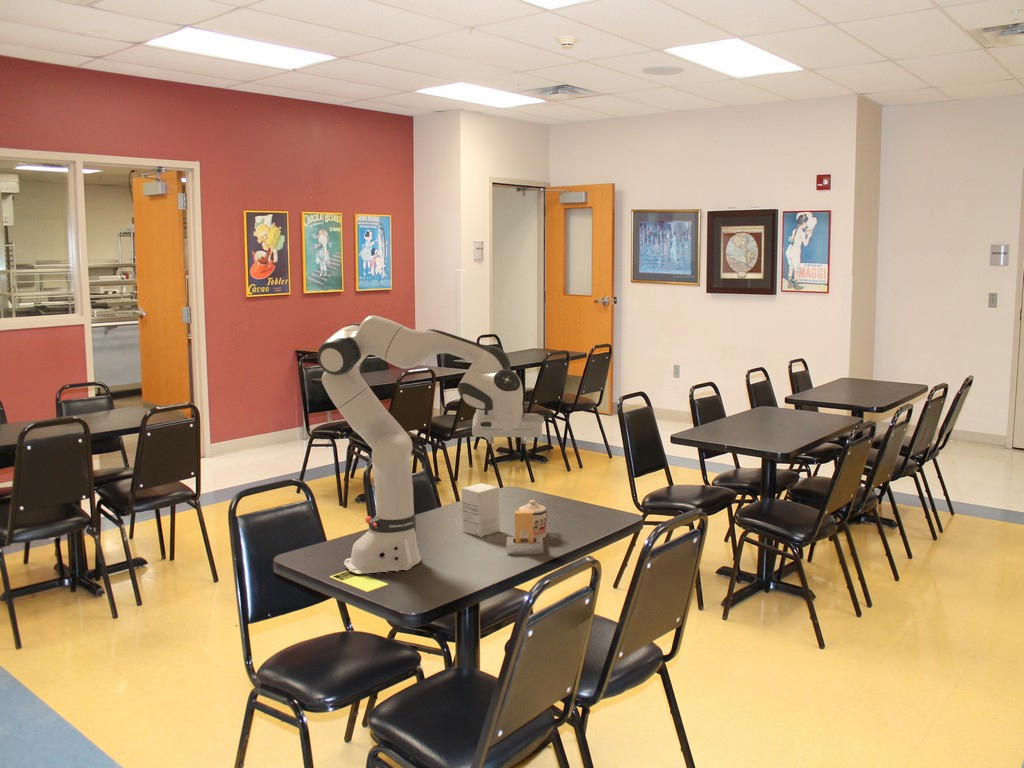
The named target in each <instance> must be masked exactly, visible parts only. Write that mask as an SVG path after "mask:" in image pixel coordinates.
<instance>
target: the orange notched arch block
mask: <svg viewBox="0 0 1024 768" xmlns="http://www.w3.org/2000/svg"><path fill="white" fill-rule="evenodd" d="M520 529H528V538H529V543H534V540H533V510H528V511H518V510H515V511H514V530H515V531H514V532H515V533H514V534H515V536H514V537H515V543H520Z"/></svg>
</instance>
